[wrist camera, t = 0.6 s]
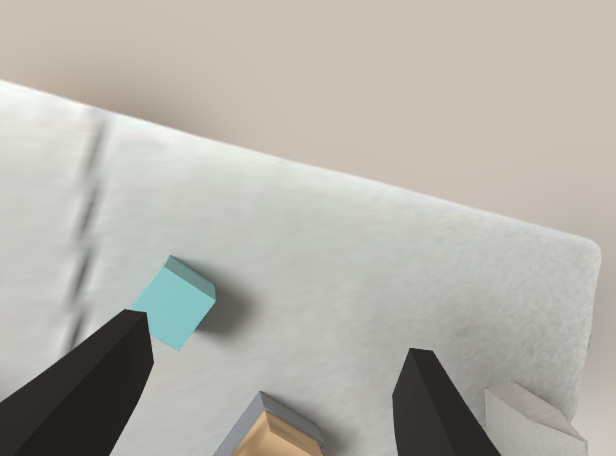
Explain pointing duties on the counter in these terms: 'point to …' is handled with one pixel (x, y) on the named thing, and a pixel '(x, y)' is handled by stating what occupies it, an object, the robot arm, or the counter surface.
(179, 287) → the teal block
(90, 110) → the counter surface
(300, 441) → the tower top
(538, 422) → the tea box
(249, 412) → the tower base
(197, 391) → the counter surface
